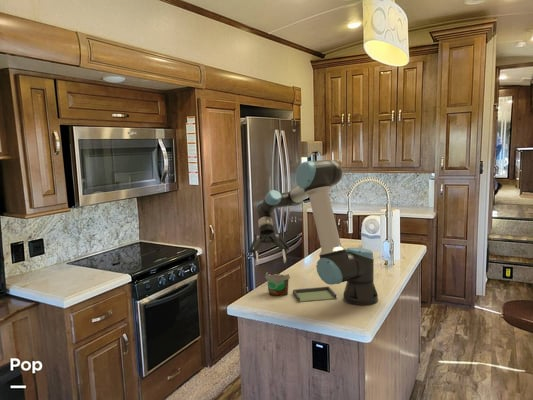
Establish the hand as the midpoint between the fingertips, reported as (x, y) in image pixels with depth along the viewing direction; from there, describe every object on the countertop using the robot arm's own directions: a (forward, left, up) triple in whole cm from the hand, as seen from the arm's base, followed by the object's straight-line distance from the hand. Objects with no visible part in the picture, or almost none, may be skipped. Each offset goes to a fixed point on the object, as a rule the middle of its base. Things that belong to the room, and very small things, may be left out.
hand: (271, 262), depth 202 cm
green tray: (-15, -17, -13) cm, 27 cm away
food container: (-9, 0, -13) cm, 16 cm away
